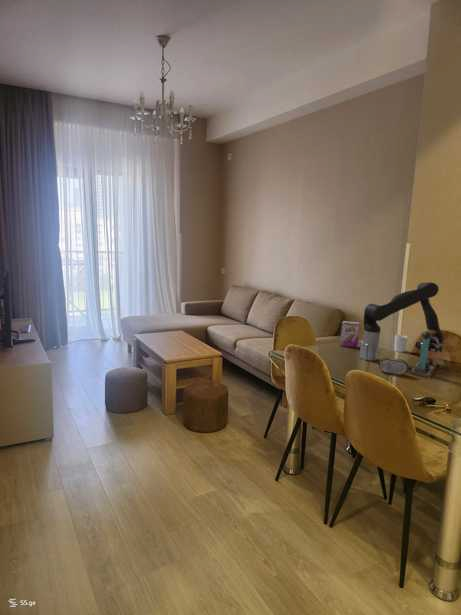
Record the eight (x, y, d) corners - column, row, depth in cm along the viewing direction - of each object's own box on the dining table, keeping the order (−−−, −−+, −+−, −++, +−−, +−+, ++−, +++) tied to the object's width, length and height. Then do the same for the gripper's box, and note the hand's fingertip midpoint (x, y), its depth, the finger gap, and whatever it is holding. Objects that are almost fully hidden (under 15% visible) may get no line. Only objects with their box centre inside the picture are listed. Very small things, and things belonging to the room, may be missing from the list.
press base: (429, 377, 229) (431, 369, 229) (410, 373, 235) (411, 365, 234) (437, 364, 256) (438, 356, 256) (419, 360, 261) (420, 353, 261)
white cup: (406, 350, 285) (408, 336, 283) (405, 353, 278) (407, 338, 276) (393, 348, 288) (395, 334, 286) (392, 351, 281) (394, 336, 279)
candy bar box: (339, 346, 285) (342, 322, 283) (339, 344, 290) (342, 320, 287) (357, 348, 283) (360, 323, 280) (356, 346, 288) (359, 322, 285)
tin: (407, 375, 232) (409, 360, 230) (407, 376, 229) (409, 361, 227) (377, 370, 237) (379, 355, 235) (377, 372, 234) (379, 357, 232)
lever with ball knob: (426, 373, 231) (432, 333, 227) (414, 371, 234) (420, 331, 230) (429, 368, 241) (435, 330, 237) (418, 366, 244) (423, 328, 240)
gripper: (419, 335, 259) (414, 340, 246) (445, 339, 252) (442, 344, 238) (417, 347, 260) (413, 352, 247) (443, 352, 253) (440, 357, 239)
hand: (427, 348), depth 243 cm, fingers open, 8 cm apart
